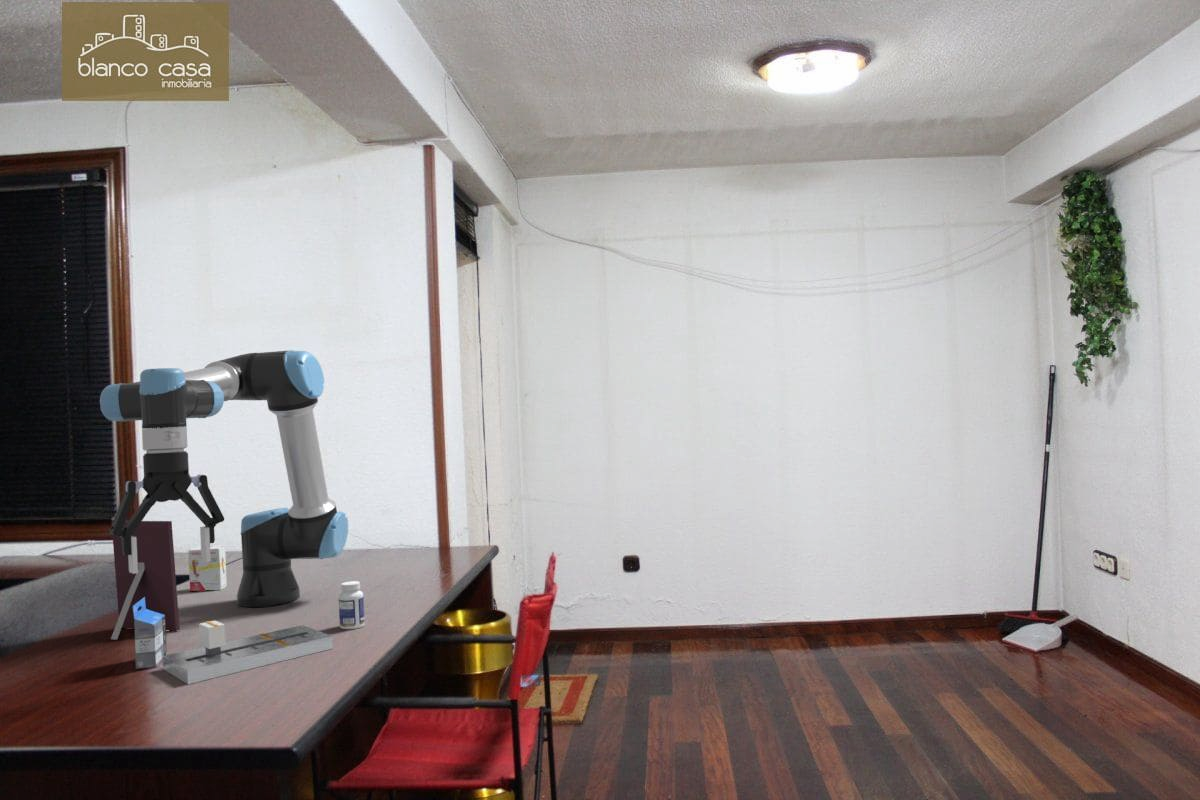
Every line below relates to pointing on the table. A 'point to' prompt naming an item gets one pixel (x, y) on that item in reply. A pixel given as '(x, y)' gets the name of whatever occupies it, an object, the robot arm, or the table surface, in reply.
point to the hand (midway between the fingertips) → (170, 566)
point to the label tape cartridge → (149, 636)
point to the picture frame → (147, 575)
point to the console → (247, 653)
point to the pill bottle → (351, 606)
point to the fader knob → (212, 637)
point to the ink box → (207, 569)
